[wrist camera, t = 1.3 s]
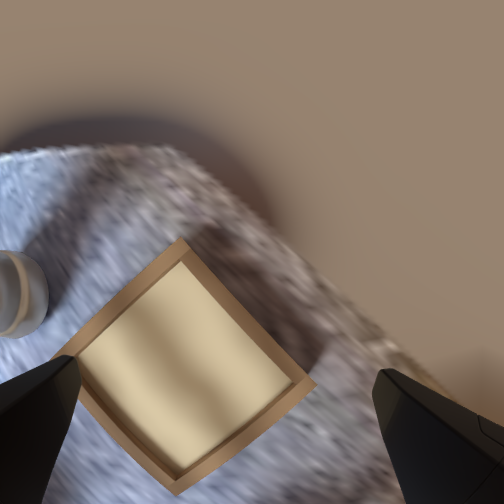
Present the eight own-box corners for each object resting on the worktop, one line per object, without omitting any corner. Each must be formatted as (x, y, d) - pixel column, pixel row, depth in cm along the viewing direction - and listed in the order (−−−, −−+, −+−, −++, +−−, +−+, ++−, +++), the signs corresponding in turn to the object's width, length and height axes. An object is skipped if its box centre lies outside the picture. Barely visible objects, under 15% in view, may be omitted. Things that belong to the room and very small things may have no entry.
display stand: (180, 477, 20) (175, 496, 17) (67, 355, 21) (49, 360, 18) (306, 375, 22) (317, 384, 19) (186, 245, 23) (180, 236, 20)
